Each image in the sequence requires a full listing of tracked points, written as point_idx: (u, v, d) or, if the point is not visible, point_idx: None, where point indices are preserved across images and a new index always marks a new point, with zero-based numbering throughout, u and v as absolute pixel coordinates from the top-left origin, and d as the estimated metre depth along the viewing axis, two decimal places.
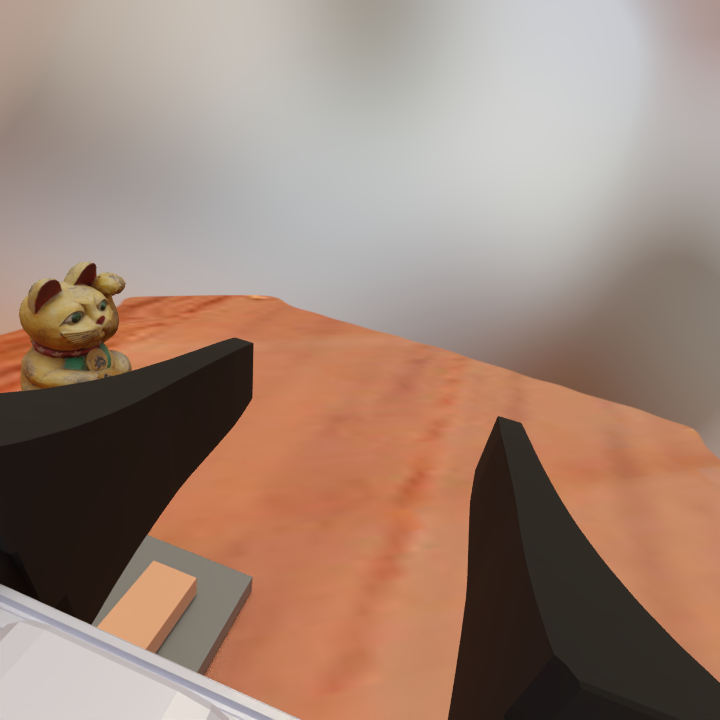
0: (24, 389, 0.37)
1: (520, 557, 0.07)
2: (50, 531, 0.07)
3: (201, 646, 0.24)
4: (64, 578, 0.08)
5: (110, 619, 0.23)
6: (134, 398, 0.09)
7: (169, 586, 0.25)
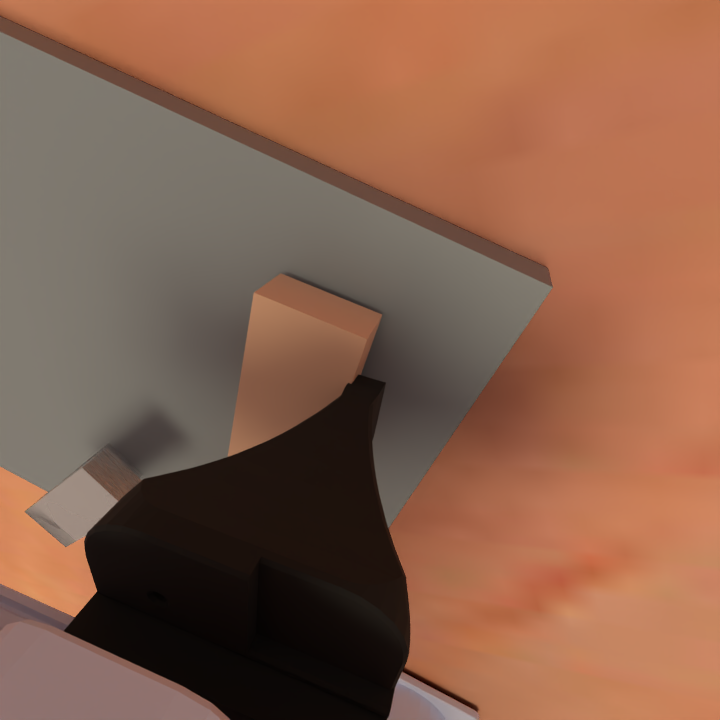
0: None
1: None
2: None
3: (440, 419, 0.13)
4: None
5: (245, 410, 0.13)
6: (319, 461, 0.08)
7: (315, 357, 0.11)
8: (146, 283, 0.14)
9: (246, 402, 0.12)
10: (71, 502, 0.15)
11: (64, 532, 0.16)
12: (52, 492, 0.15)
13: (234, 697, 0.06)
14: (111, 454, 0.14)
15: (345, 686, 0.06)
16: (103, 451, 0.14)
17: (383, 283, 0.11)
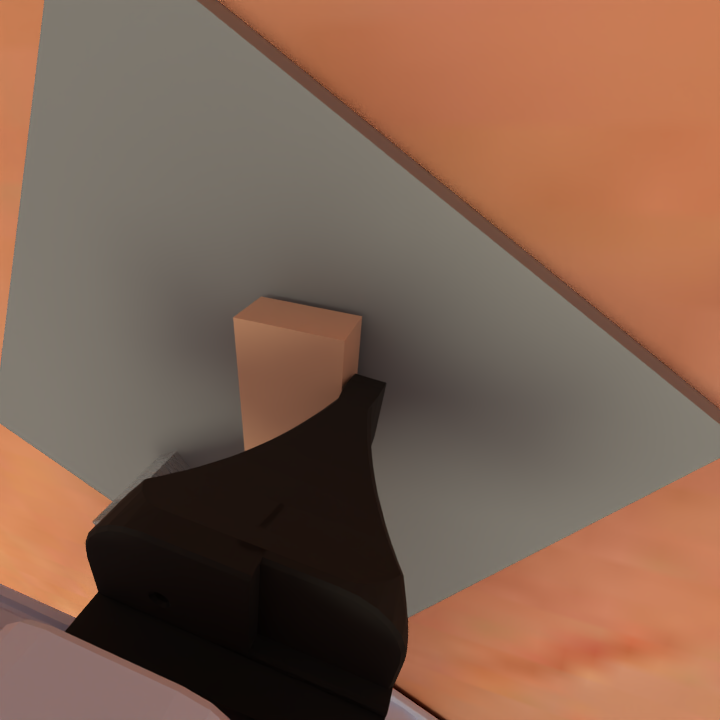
0: None
1: None
2: None
3: (568, 518, 0.13)
4: None
5: (252, 433, 0.13)
6: (320, 462, 0.08)
7: (302, 368, 0.11)
8: None
9: (251, 425, 0.13)
10: None
11: None
12: None
13: (232, 696, 0.06)
14: None
15: (343, 685, 0.06)
16: None
17: (573, 396, 0.11)
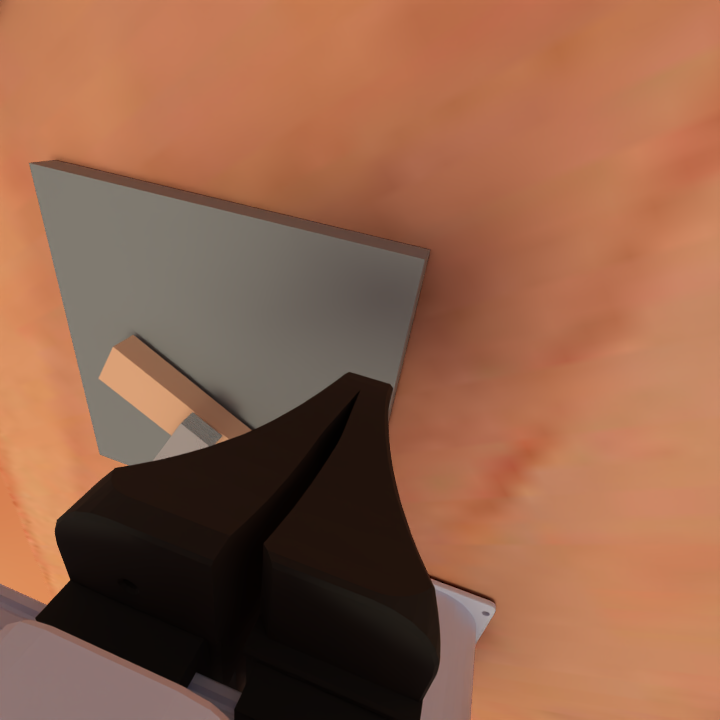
0: None
1: None
2: (239, 610, 0.07)
3: (390, 355, 0.20)
4: (237, 653, 0.07)
5: (153, 416, 0.25)
6: (295, 453, 0.08)
7: (123, 371, 0.24)
8: (202, 306, 0.22)
9: (149, 414, 0.25)
10: (176, 452, 0.23)
11: None
12: (163, 447, 0.23)
13: (261, 709, 0.05)
14: (195, 415, 0.23)
15: (373, 698, 0.06)
16: (191, 414, 0.23)
17: (335, 277, 0.19)
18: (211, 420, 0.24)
